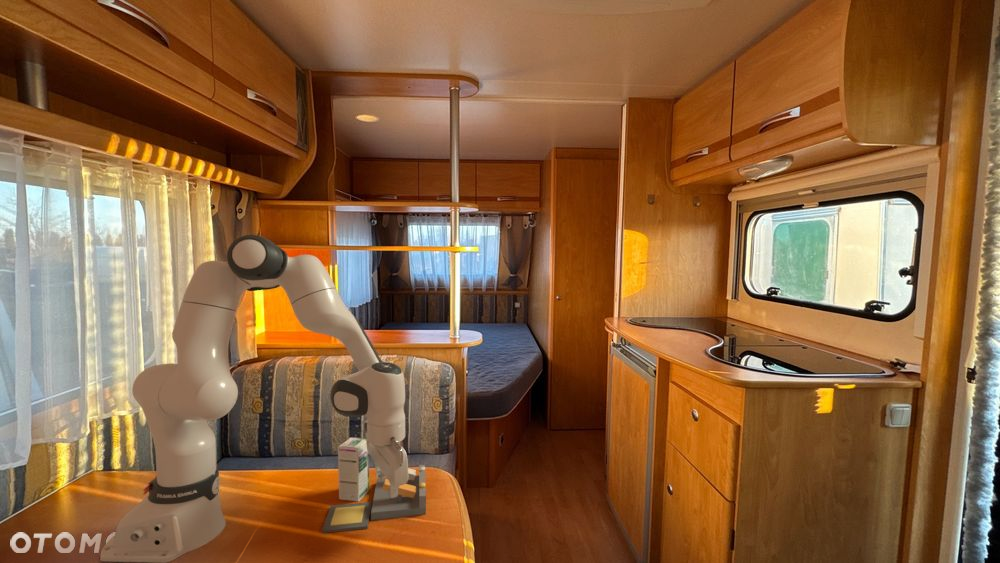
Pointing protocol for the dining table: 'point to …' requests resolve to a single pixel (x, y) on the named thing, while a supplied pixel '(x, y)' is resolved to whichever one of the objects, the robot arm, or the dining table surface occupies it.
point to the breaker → (411, 474)
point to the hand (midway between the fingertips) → (386, 486)
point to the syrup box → (353, 469)
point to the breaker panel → (400, 500)
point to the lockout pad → (347, 517)
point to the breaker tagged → (401, 489)
